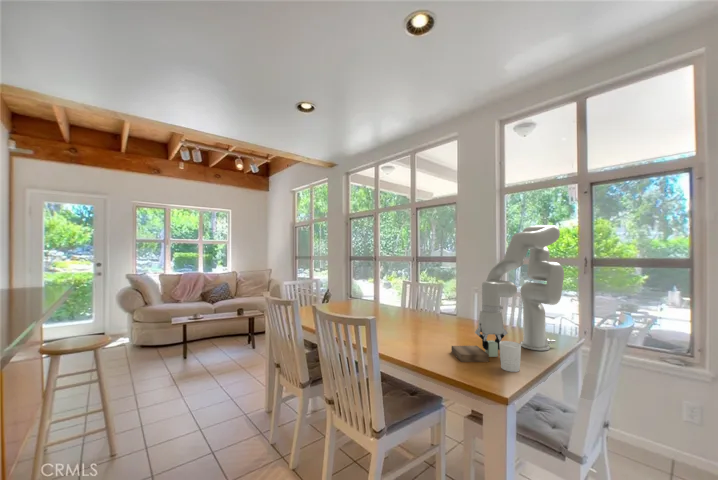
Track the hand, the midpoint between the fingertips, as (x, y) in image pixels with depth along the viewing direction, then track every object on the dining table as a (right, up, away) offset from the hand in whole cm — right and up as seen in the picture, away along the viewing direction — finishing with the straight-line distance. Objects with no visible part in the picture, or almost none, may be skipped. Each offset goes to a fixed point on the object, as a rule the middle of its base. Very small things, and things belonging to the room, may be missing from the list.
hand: (491, 348), depth 138 cm
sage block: (0, -3, 0) cm, 3 cm away
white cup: (+1, -3, -16) cm, 16 cm away
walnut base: (-11, -3, -3) cm, 12 cm away
